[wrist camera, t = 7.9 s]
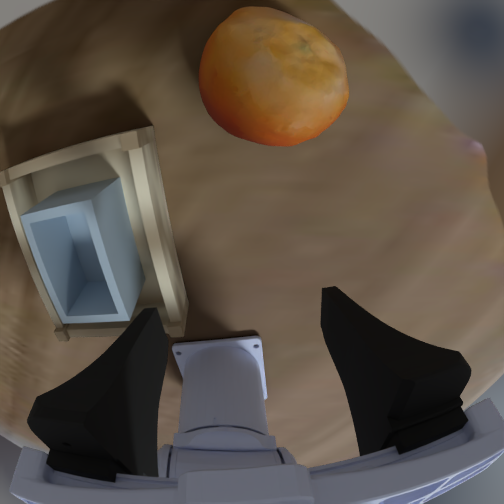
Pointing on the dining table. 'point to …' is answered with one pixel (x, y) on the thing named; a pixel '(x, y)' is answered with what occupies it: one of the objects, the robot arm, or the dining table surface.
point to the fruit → (272, 77)
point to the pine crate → (139, 210)
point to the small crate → (86, 252)
